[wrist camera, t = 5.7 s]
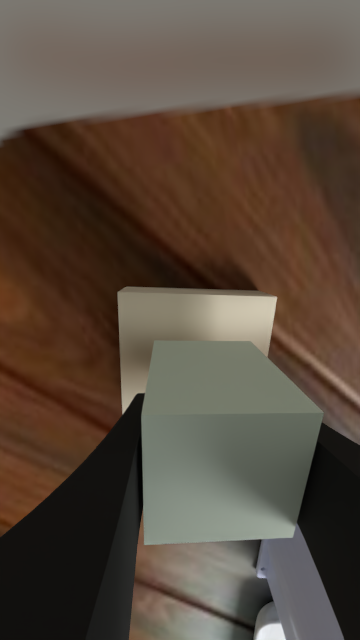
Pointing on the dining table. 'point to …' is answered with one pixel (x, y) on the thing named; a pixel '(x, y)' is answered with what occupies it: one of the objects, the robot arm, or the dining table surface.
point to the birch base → (185, 324)
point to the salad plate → (268, 624)
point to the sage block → (223, 444)
